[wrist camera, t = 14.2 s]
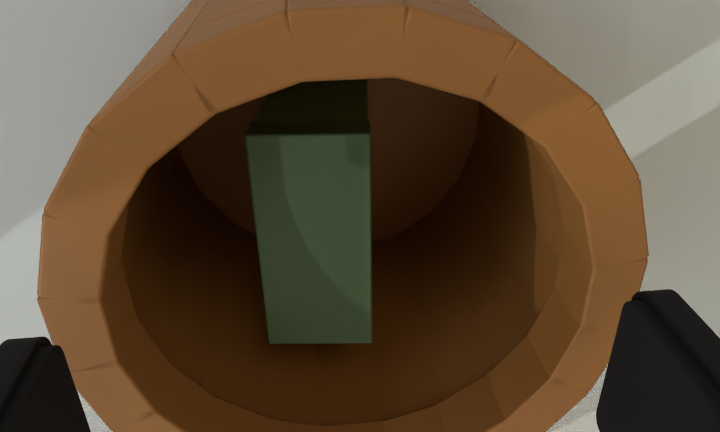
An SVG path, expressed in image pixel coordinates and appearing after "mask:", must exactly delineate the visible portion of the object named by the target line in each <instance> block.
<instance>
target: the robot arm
mask: <svg viewBox="0 0 720 432" xmlns="http://www.w3.org/2000/svg"><path fill="white" fill-rule="evenodd" d="M596 419H597V425H598V428H599V431H600V432H720V338H719V337H718V336H717V335H716V334H715V333H714V332H713V331H712V330H711V329H710V328H709V326H708V325H707V324H706V323H705V322H704V321H703V320H702V319H701V318H700V317H699V316H698V315H697V314H696V313H695V311H694V310H693V309H692V308H691V307H690V306H689V305H688V304H687V303H686V302H685V301H684V300H683V299H682V298H681V296H680V295H679V294H677V293H676V292H675V291H673V290H670V289H668V290H655V291H641V292H637V293H635V294H634V295H633V296H632V299H631V301H627V302H625V303H624V305H623V308H622V311H621V315H620V319H619V323H618V327H617V331H616V335H615V339H614V343H613V347H612V351H611V355H610V359H609V363H608V367H607V371H606V375H605V379H604V383H603V387H602V391H601V395H600V399H599V403H598V407H597V412H596ZM0 432H91V431H90V428H89V425H88V422H87V419H86V416H85V413H84V411H83V408H82V405H81V402H80V399H79V396H78V393H77V390H76V387H75V384H74V381H73V378H72V375H71V372H70V369H69V366H68V364H67V361H66V358H65V355H64V352H63V350H62V348H61V347H60V346H59V345H52V344H51V342H50V340H48V339H47V338H46V337H35V338H21V339H8V340H6V341H4V342H3V343H2V344H1V345H0Z"/></svg>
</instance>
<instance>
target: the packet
mask: <svg viewBox="0 0 720 432" xmlns="http://www.w3.org/2000/svg"><path fill="white" fill-rule="evenodd" d="M244 138H245V147H246V155H247V164H248V172H249V180H250V189H251V197H252V206H253V214H254V223H255V231H256V240H257V248H258V257H259V265H260V274H261V282H262V291H263V299H264V307H265V316H266V324H267V333H268V341H269V343H270V344H341V343H371V342H372V340H373V339H372V189H371V123H370V121H369V119H368V79H357V80H333V81H310V82H301V83H298V84H295V85H293V86H290V87H287V88H284V89H282V90H279V91H276V92H274V93H271V94H268V95H267V96H266V98H265V100H264V102H263V105H262V107H261V109H260V111H259V113H258V116H257V118H256V120H255V122H252V123H250V125H249V127H248V129H247V132H246V134H245V136H244Z"/></svg>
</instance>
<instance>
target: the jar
mask: <svg viewBox="0 0 720 432" xmlns="http://www.w3.org/2000/svg"><path fill="white" fill-rule="evenodd" d="M357 79H368V119H369V121H370V123H371V189H372V339H373V340H372V342H371V343H341V344H270V343H269V341H268V333H267V324H266V316H265V307H264V299H263V291H262V282H261V274H260V265H259V257H258V248H257V240H256V231H255V223H254V214H253V206H252V197H251V189H250V180H249V172H248V164H247V155H246V147H245V138H244V136H245V134H246V132H247V129H248V127H249V125H250V123H252V122H255V120H256V118H257V116H258V113H259V111H260V109H261V107H262V105H263V102H264V100H265V98H266V96H267V95H268V94H271V93H274V92H276V91H279V90H282V89H284V88H287V87H290V86H293V85H295V84H298V83H301V82H310V81H333V80H357ZM648 255H649V254H648V245H647V236H646V227H645V218H644V209H643V200H642V191H641V182H640V179H639V174H638V173H637V171H636V169H635V167H634V166H633V164H632V162H631V160H630V158H629V157H628V155H627V153H626V151H625V150H624V148H623V146H622V144H621V142H620V141H619V139H618V137H617V135H616V134H615V132H614V130H613V128H612V126H611V125H610V123H609V121H608V119H607V118H606V116H605V114H604V112H603V110H602V109H601V107H600V105H599V104H598V103H597V102H596V101H595V100H594V98H593V97H592V96H590V95H589V94H588V93H587V92H585V91H584V90H583V89H581V88H580V87H579V86H578V85H576V84H575V83H574V82H572V81H571V80H570V79H569V78H567V77H566V76H565V75H564V74H562V73H561V72H560V71H558V70H557V69H556V68H555V67H553V66H552V65H551V64H550V63H548V62H547V61H546V60H544V59H543V58H542V57H541V56H539V55H538V54H537V53H535V52H534V51H533V50H532V49H530V48H529V47H528V46H527V45H525V44H524V43H523V42H521V41H520V40H519V39H517V38H516V37H515V36H513V35H512V34H511V33H509V32H508V31H506V30H505V29H504V28H502V27H501V26H500V25H498V24H497V23H495V22H494V21H493V20H491V19H490V18H489V17H487V16H486V15H485V14H483V13H482V12H481V11H479V10H478V9H476V8H475V7H474V6H472V5H471V4H470V3H468V2H467V1H466V0H192V1H191V2H190V3H189V5H188V6H187V7H186V8H185V9H184V11H183V12H182V13H181V14H180V15H179V17H178V18H177V19H176V20H175V21H174V23H173V24H172V25H171V26H170V27H169V28H168V30H167V31H166V32H165V33H164V34H163V36H162V37H161V38H160V39H159V40H158V42H157V43H156V44H155V45H154V46H153V48H152V49H151V50H150V51H149V52H148V54H147V55H146V56H145V57H144V58H143V59H142V61H141V62H140V63H139V64H138V65H137V67H136V68H135V69H134V70H133V71H132V73H131V74H130V75H129V76H128V77H127V79H126V80H125V81H124V82H123V83H122V84H121V86H120V87H119V88H118V89H117V90H116V92H115V93H114V94H113V95H112V97H111V98H110V99H109V100H108V101H107V103H106V104H105V105H104V106H103V107H102V109H101V110H100V111H99V112H98V113H97V115H96V116H95V117H94V118H93V119H92V121H91V122H90V123H89V124H88V126H87V127H86V128H85V130H84V132H83V134H82V136H81V138H80V139H79V141H78V143H77V145H76V147H75V149H74V151H73V153H72V155H71V157H70V159H69V161H68V163H67V165H66V167H65V168H64V170H63V172H62V174H61V176H60V178H59V180H58V182H57V184H56V186H55V188H54V190H53V192H52V194H51V195H50V197H49V199H48V201H47V203H46V205H45V207H44V213H43V215H42V230H41V245H40V260H39V275H38V290H37V293H38V298H37V301H38V304H39V307H40V310H41V312H42V315H43V318H44V321H45V324H46V327H47V330H48V332H49V335H50V338H51V341H52V344H53V345H59V346H60V347H61V348H62V350H63V352H64V355H65V358H66V361H67V364H68V366H69V369H70V372H71V375H72V378H73V381H74V384H75V387H76V389H77V390H78V392H79V393H80V394H81V395H82V396H83V398H84V399H85V400H86V401H87V403H88V404H89V405H90V406H91V407H92V409H93V410H94V411H95V412H96V413H97V415H98V416H99V417H100V418H101V419H102V421H103V422H104V423H105V424H106V425H107V427H108V428H109V429H110V430H111V431H113V432H546V431H547V430H548V429H549V428H550V427H551V426H553V425H554V424H555V423H556V422H557V421H558V420H559V419H560V418H562V417H563V416H564V415H565V414H566V413H567V412H568V411H569V410H570V409H572V408H573V407H574V406H575V405H576V404H577V403H578V402H579V401H581V400H582V399H583V398H584V397H585V396H586V395H587V394H588V391H590V390H591V389H592V387H593V386H594V384H595V383H596V381H597V380H598V378H599V377H600V375H601V374H602V372H603V370H604V369H605V367H606V366H607V364H608V363H609V359H610V355H611V351H612V347H613V343H614V339H615V335H616V331H617V327H618V323H619V319H620V315H621V311H622V308H623V305H624V303H625V302H627V301H631V299H632V296H633V295H634V294H635V293H637V292H640V288H641V284H642V280H643V276H644V273H645V269H646V265H647V261H648V260H647V257H648Z"/></svg>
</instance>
